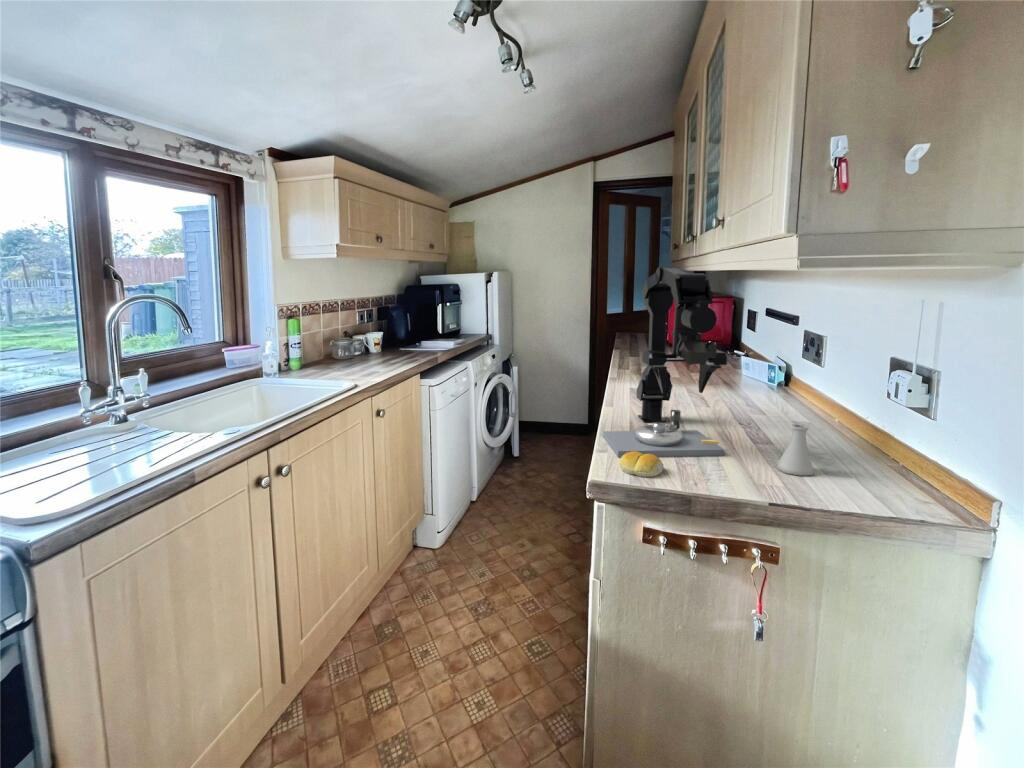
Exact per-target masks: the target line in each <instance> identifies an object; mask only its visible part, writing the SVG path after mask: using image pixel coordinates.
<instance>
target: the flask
mask: <svg viewBox="0 0 1024 768" xmlns="http://www.w3.org/2000/svg"><path fill="white" fill-rule="evenodd" d="M791 428H792V433H791V437H790V440H789V441H788V444H787V446H786V448H785V450H784V452H783V454H782V456H781V458H780V459H779V461H778V462H777V465H776V469H778V470H779V471H781V472H783V474H789V475H795V476H801V477H802V476H803V477H804V476H814V475H815V474H814V468H813V464H812V460H811V457H810V454H809V449H808V445H807V431H809V425H806V424H798V423H795V424H794V423H793V424H792V425H791Z"/></svg>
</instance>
